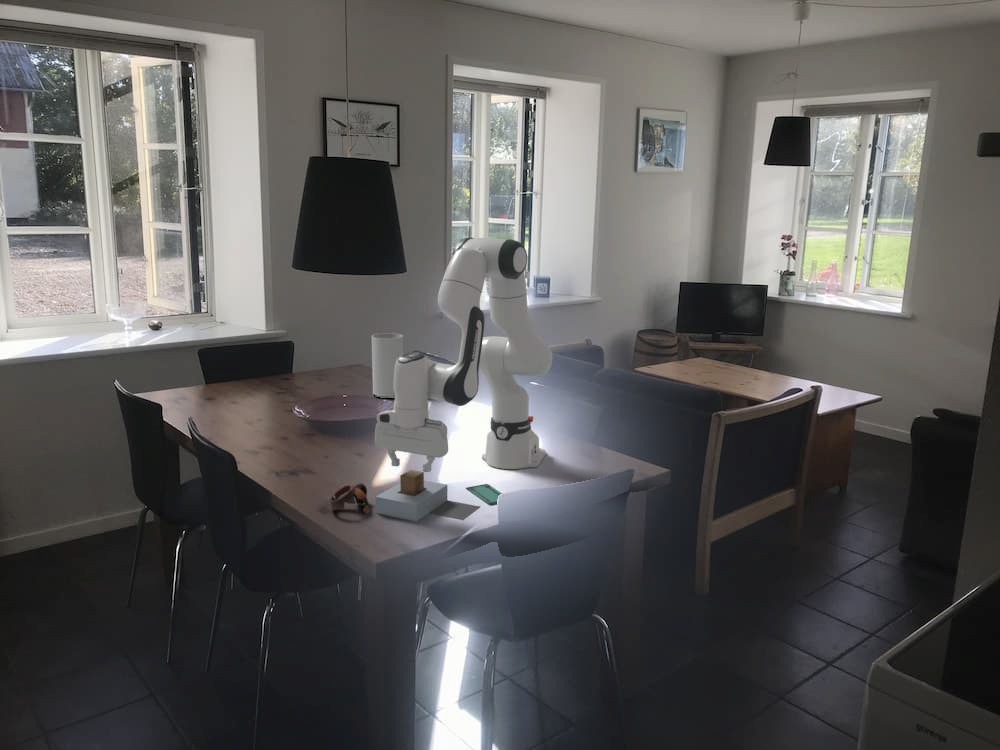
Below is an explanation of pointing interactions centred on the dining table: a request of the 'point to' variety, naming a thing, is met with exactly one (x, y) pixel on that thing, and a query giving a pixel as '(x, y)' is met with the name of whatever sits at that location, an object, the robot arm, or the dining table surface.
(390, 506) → the pocket holder
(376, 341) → the cylinder vase
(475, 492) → the smartphone
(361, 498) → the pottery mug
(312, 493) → the dining table surface
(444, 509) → the rubber mat
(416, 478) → the walnut block
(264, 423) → the dining table surface
